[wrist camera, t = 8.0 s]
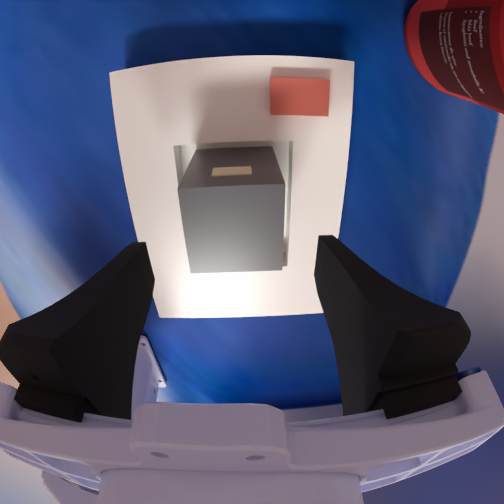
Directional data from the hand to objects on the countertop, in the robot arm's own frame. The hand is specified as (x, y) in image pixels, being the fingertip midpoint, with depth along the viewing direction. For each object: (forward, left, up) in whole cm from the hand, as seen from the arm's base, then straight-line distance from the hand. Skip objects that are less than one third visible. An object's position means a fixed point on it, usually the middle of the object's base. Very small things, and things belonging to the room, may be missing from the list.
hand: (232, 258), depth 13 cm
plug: (0, 0, -8) cm, 8 cm away
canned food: (+11, -15, -9) cm, 20 cm away
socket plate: (-1, 0, -9) cm, 9 cm away
